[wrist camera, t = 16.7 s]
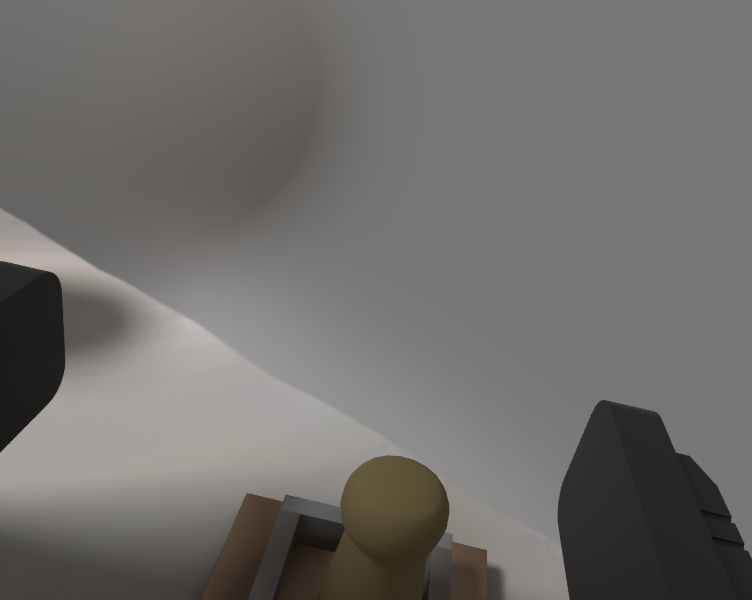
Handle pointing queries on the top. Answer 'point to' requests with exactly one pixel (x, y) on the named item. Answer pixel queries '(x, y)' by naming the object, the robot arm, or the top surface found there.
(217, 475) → the top surface
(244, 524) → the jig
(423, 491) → the cork
